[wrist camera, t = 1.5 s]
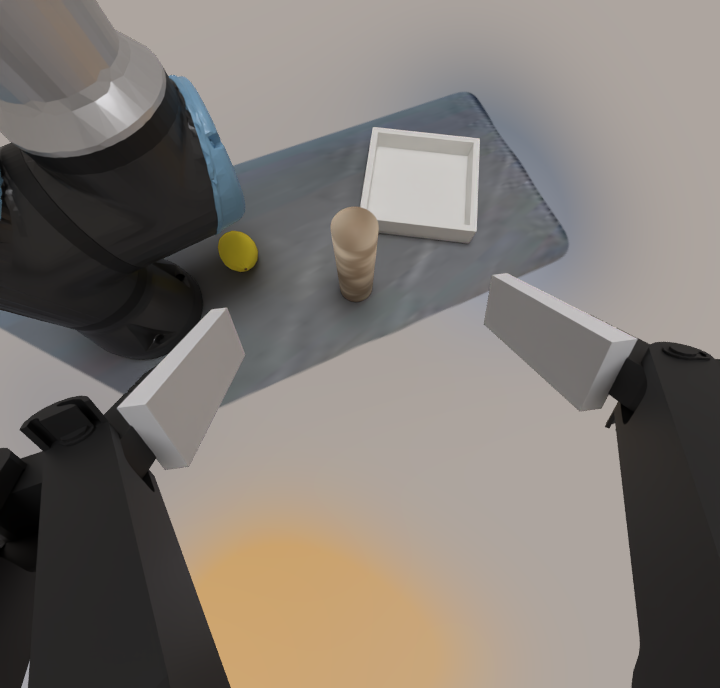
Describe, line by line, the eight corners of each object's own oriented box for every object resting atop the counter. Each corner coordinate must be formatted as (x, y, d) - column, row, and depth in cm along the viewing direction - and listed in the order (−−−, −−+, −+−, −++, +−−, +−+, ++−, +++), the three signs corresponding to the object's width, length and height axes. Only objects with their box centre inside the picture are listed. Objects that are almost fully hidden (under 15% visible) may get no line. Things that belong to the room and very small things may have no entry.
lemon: (225, 254, 43) (205, 228, 38) (256, 241, 44) (240, 215, 39) (236, 287, 41) (217, 264, 36) (269, 273, 41) (254, 249, 36)
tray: (358, 230, 44) (358, 217, 41) (372, 144, 48) (372, 127, 45) (468, 243, 43) (476, 231, 40) (472, 155, 47) (479, 138, 44)
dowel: (337, 299, 41) (327, 245, 27) (342, 270, 42) (334, 204, 28) (370, 303, 41) (375, 251, 27) (374, 274, 42) (381, 209, 28)
